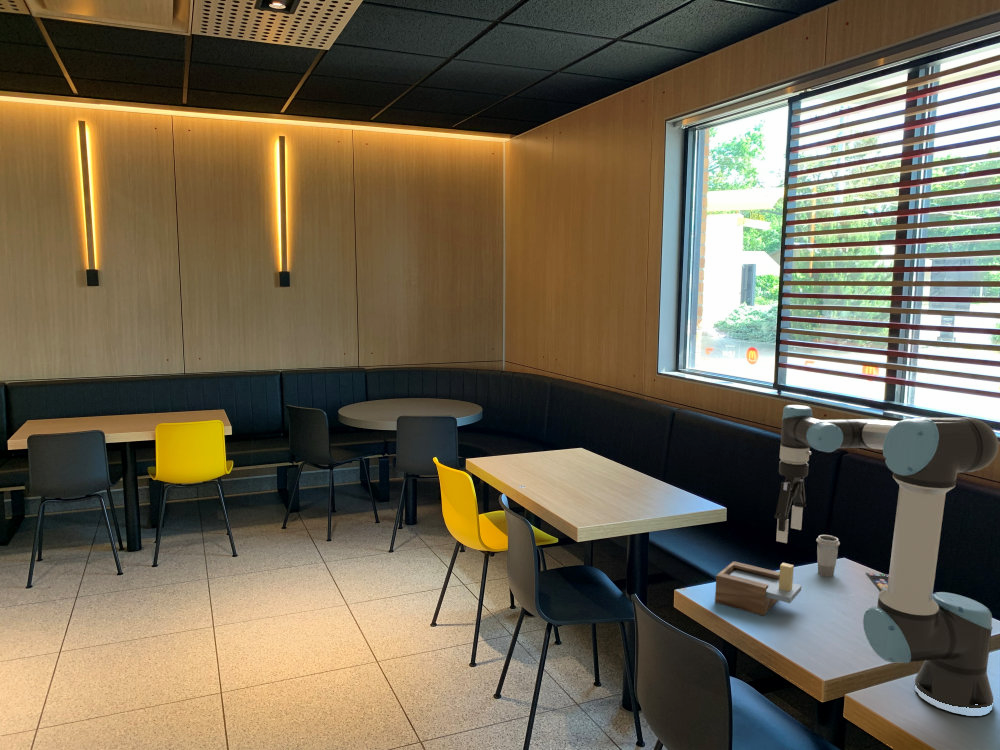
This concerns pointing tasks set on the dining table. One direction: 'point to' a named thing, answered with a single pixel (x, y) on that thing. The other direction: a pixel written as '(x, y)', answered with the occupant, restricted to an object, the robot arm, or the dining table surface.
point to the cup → (827, 554)
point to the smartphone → (879, 580)
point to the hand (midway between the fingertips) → (788, 535)
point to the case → (744, 589)
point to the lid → (775, 583)
